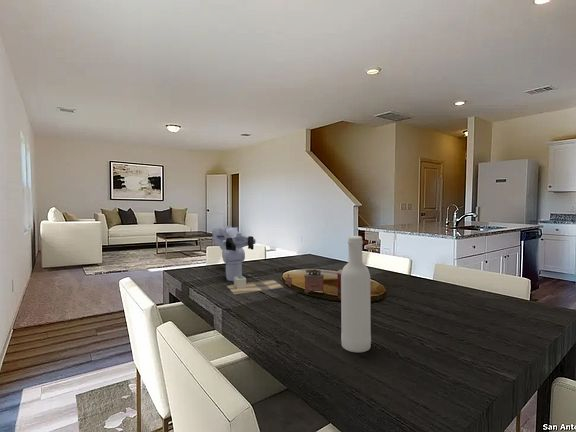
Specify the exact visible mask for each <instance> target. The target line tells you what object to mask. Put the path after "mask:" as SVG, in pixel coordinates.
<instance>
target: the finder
mask: <svg viewBox="0 0 576 432" xmlns="http://www.w3.org/2000/svg"><path fill="white" fill-rule="evenodd" d="M246 283H247V278H246V277H245V276H243V275H242V276H236V277H234V281H233V285H234V286H235V287H236V288H237V289H242V288H246Z"/></svg>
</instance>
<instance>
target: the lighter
mask: <svg viewBox="0 0 576 432" xmlns="http://www.w3.org/2000/svg"><path fill="white" fill-rule="evenodd" d="M305 273H307V274H304V293H305V294H308V292H310V291H323V290H324V274H322V270H321V269H317V268H313V269H312V268H311V269H308V268H306V269H305ZM324 291H325V290H324Z"/></svg>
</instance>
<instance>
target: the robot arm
mask: <svg viewBox="0 0 576 432" xmlns="http://www.w3.org/2000/svg"><path fill="white" fill-rule="evenodd" d="M211 231H212V232H211V233H212V239H213V242H214V243H215V244H217V245H218V246H219V248H220V249H221V251H222V253H221V254H222V261H223V262H224V264H225V278H226V280H227V281H229V282H231V281H232V282H234V277H236V276H243V272H242V271H243V268H242V266H243V265H242V264H243V262H244V261H245V259H246V253H245V250H244V247H245V248H246V247H247V249H248V250H249V249H250V250H254V245H256V238H254V236H252V235H250V236H245V235H242V233H241V232H240V229H239V227H238V226H236V227H232V226H231V225H226V226H224V227H223V226H222V227H214V228H213V229H212V230H211Z"/></svg>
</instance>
